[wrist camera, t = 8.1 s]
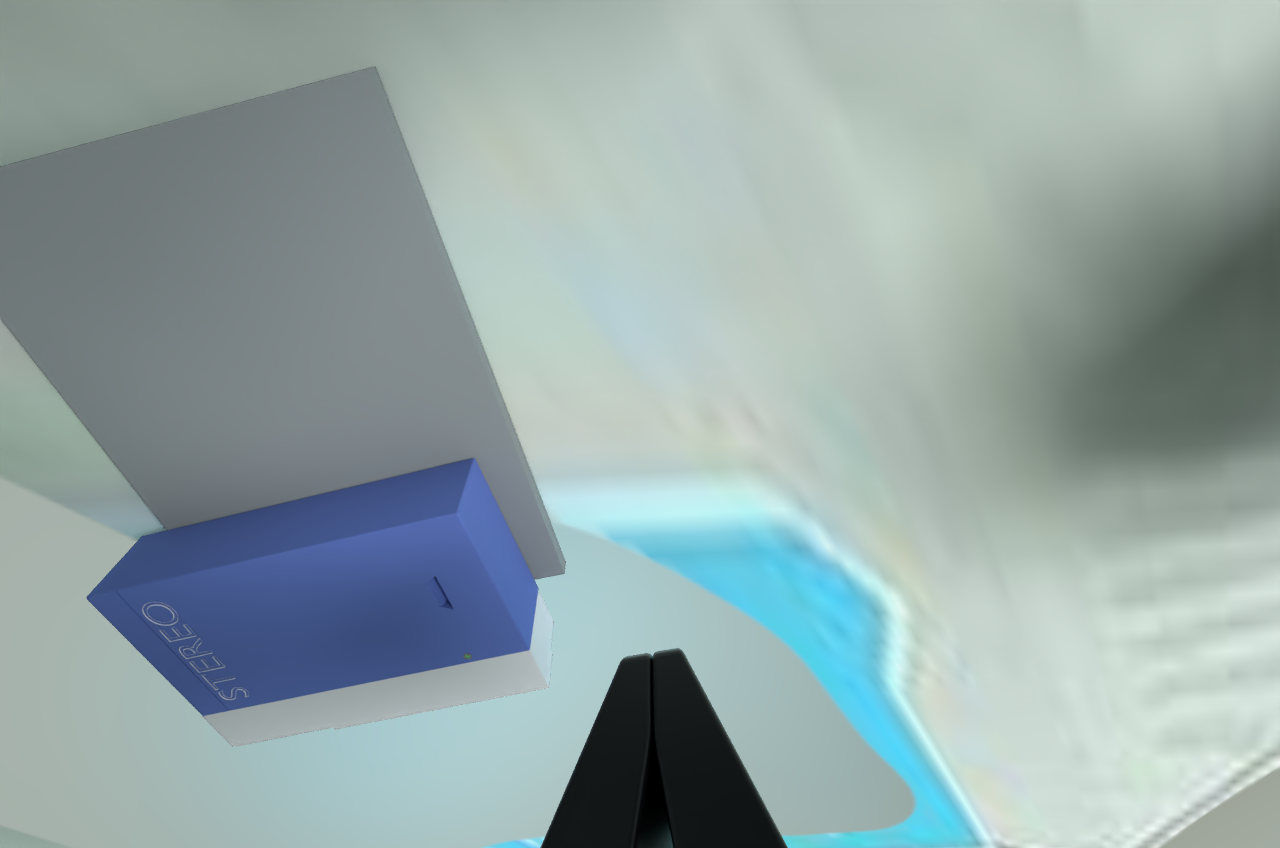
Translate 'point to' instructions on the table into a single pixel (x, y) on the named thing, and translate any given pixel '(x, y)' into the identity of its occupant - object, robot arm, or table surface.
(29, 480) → the table surface
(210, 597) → the walkman
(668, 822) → the robot arm
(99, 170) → the mat
